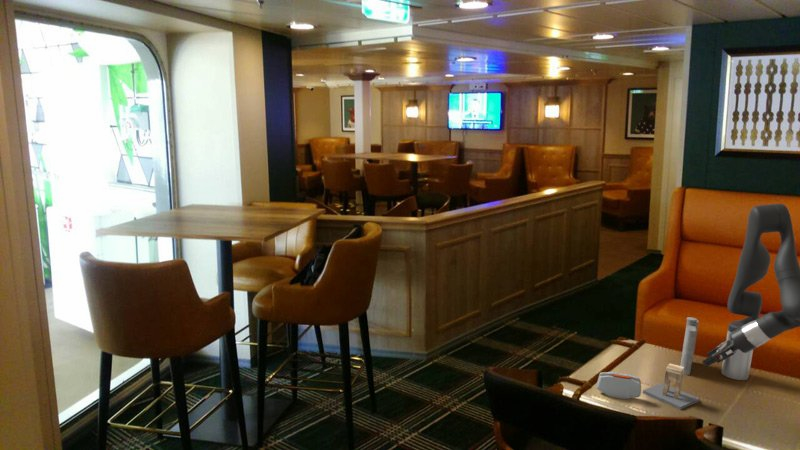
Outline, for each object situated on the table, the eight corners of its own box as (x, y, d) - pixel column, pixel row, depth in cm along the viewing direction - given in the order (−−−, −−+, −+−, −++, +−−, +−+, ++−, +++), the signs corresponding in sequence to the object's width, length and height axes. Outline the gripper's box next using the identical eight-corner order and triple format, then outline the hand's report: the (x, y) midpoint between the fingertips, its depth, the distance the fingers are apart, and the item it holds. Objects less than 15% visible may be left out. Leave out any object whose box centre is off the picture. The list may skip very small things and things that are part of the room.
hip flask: (689, 375, 235) (697, 325, 231) (677, 373, 237) (685, 323, 233) (692, 361, 249) (699, 314, 245) (681, 359, 251) (688, 311, 247)
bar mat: (662, 385, 225) (662, 382, 225) (699, 401, 214) (699, 398, 214) (642, 392, 218) (643, 390, 218) (680, 409, 207) (680, 406, 207)
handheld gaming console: (639, 398, 214) (642, 376, 213) (640, 401, 211) (643, 379, 210) (595, 390, 218) (598, 369, 216) (596, 394, 215) (598, 372, 214)
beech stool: (665, 390, 219) (669, 363, 217) (680, 394, 217) (684, 367, 215) (662, 394, 215) (666, 367, 213) (677, 399, 213) (681, 371, 211)
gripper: (745, 320, 206) (702, 344, 215) (740, 332, 195) (695, 356, 203) (761, 339, 204) (717, 363, 213) (756, 352, 193) (710, 376, 201)
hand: (706, 360), depth 208 cm, fingers open, 8 cm apart
